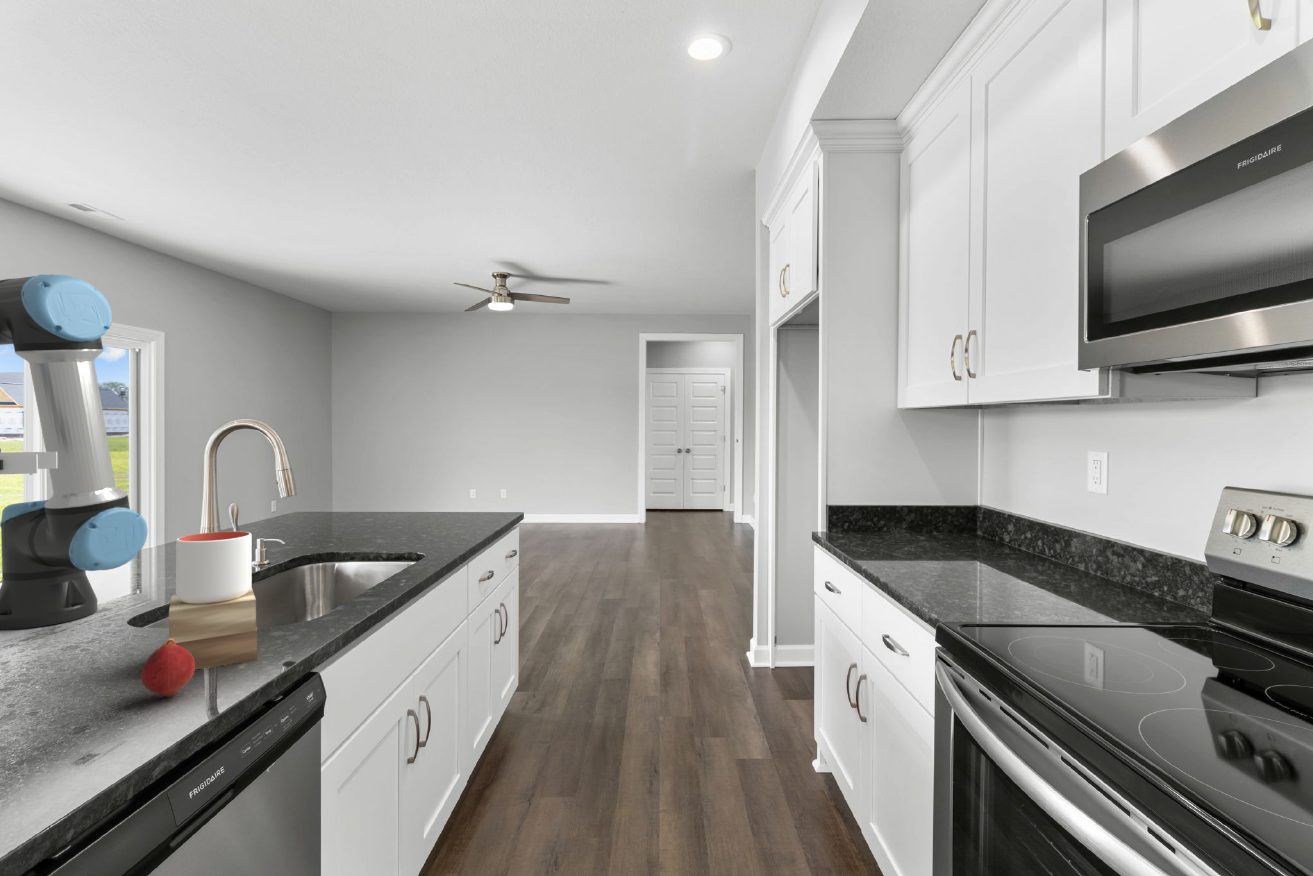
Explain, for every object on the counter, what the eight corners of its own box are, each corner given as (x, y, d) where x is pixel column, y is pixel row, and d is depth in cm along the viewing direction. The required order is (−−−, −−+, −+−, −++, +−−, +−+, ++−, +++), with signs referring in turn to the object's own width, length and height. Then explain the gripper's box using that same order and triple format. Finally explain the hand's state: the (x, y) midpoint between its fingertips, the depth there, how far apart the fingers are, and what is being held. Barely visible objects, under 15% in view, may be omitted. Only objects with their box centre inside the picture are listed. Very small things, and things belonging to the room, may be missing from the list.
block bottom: (174, 655, 102) (174, 625, 102) (253, 642, 109) (253, 613, 109) (170, 676, 94) (170, 643, 93) (257, 661, 100) (257, 630, 100)
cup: (212, 607, 95) (212, 542, 95) (159, 603, 97) (159, 540, 97) (266, 591, 105) (266, 532, 105) (216, 588, 107) (216, 530, 107)
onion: (152, 709, 82) (151, 649, 82) (134, 699, 85) (134, 641, 85) (202, 693, 87) (202, 637, 87) (184, 684, 90) (184, 629, 90)
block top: (171, 625, 102) (171, 595, 102) (251, 614, 109) (251, 585, 109) (169, 644, 93) (169, 611, 93) (255, 630, 100) (255, 599, 100)
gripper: (-130, 487, 93) (64, 480, 105) (-226, 503, 73) (27, 493, 85) (-130, 437, 93) (63, 436, 105) (-227, 439, 73) (27, 438, 85)
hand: (48, 461), depth 95 cm, fingers open, 13 cm apart
